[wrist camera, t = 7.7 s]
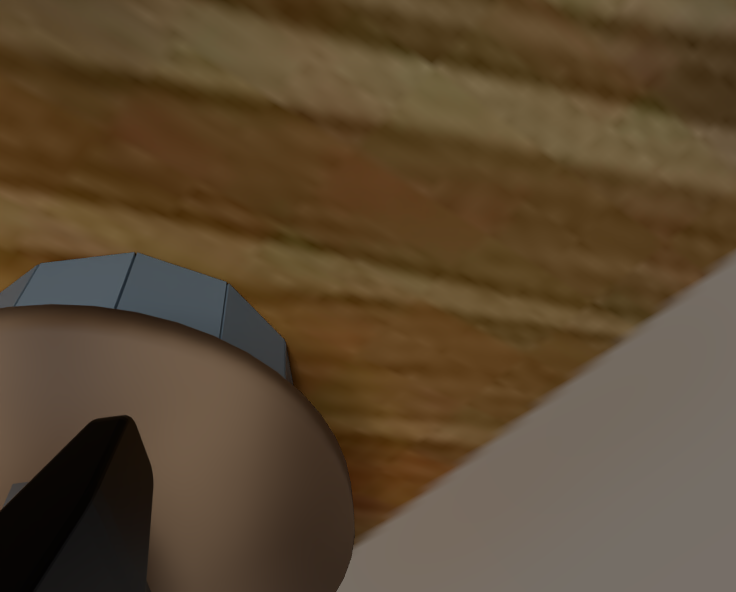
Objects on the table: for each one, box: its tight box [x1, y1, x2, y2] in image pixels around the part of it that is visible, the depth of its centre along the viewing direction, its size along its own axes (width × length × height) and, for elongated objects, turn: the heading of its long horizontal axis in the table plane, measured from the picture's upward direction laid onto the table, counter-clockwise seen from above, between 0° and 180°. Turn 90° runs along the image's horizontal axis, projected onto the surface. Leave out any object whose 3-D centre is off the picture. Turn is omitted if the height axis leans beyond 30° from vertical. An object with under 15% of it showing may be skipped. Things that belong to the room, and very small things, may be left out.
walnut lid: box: [0, 304, 355, 592], centre depth 16 cm, size 13×13×4 cm
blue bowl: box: [0, 252, 293, 385], centre depth 20 cm, size 10×10×5 cm
